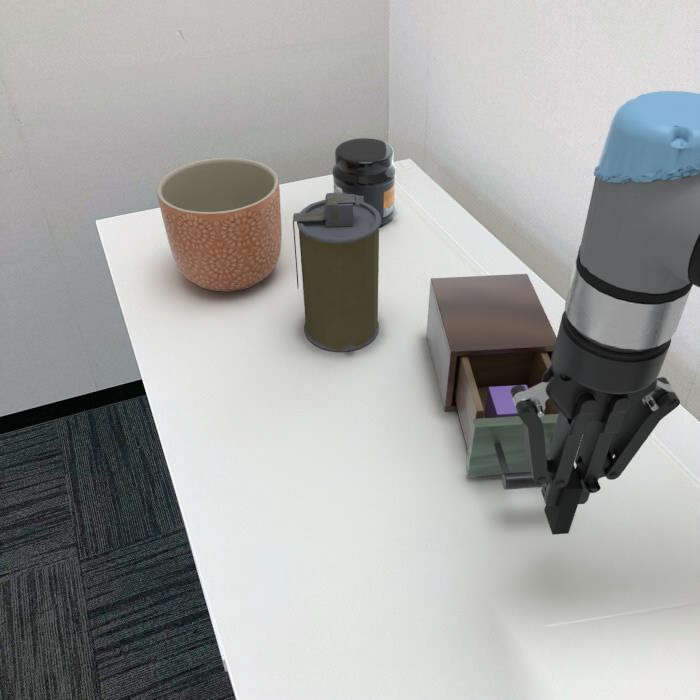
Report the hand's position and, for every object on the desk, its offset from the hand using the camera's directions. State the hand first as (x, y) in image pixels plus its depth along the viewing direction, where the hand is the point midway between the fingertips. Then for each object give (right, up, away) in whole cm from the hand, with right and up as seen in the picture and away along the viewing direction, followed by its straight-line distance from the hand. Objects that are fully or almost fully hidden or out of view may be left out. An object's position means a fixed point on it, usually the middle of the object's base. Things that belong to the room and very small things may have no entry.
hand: (556, 521), depth 65 cm
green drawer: (-1, +5, +15) cm, 16 cm away
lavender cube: (-1, +7, +16) cm, 17 cm away
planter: (-37, +28, +44) cm, 64 cm away
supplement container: (-17, +39, +57) cm, 71 cm away
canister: (-20, +19, +33) cm, 43 cm away
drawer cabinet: (-2, +13, +26) cm, 30 cm away
